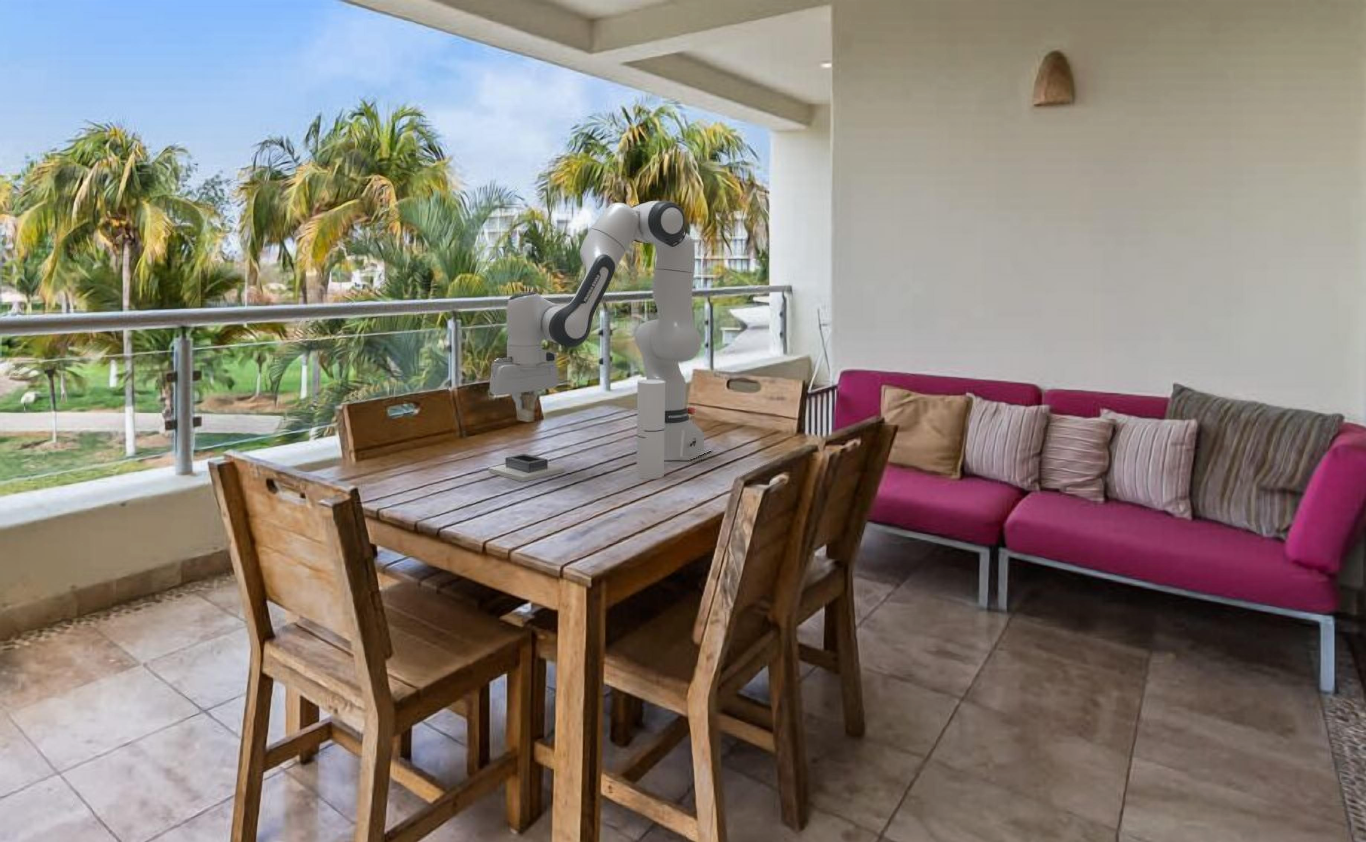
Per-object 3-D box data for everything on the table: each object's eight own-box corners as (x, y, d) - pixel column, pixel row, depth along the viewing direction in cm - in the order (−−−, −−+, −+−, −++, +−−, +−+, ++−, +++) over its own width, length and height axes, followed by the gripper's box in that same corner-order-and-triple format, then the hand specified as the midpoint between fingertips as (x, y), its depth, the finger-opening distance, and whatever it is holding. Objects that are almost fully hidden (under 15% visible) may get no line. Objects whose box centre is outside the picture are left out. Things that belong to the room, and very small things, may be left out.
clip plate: (530, 463, 225) (529, 458, 225) (564, 471, 216) (564, 467, 216) (488, 472, 214) (488, 467, 214) (523, 482, 206) (522, 477, 205)
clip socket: (524, 462, 220) (524, 453, 220) (547, 468, 215) (547, 459, 214) (505, 466, 216) (505, 457, 215) (528, 473, 210) (528, 463, 209)
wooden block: (522, 418, 215) (522, 392, 213) (534, 421, 212) (533, 394, 211) (516, 419, 213) (516, 393, 212) (528, 422, 210) (527, 395, 209)
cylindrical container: (660, 479, 210) (661, 384, 205) (633, 477, 212) (634, 382, 207) (666, 473, 217) (667, 380, 212) (640, 471, 218) (641, 379, 214)
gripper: (499, 359, 200) (500, 415, 202) (562, 354, 215) (562, 405, 218) (483, 357, 203) (485, 412, 206) (546, 352, 219) (546, 402, 222)
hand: (525, 408), depth 212 cm, fingers closed on wooden block, 2 cm apart
